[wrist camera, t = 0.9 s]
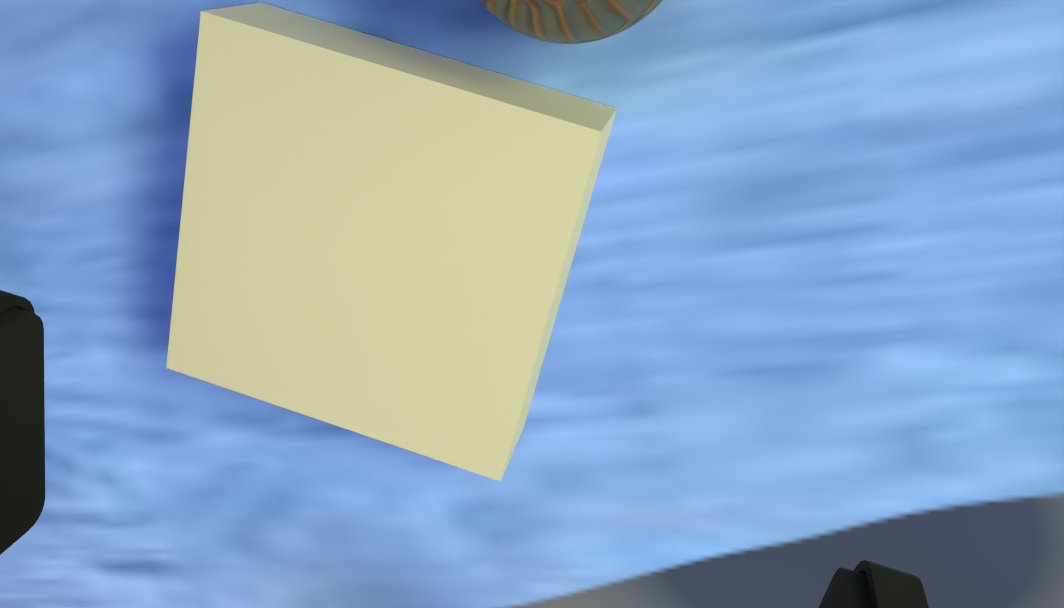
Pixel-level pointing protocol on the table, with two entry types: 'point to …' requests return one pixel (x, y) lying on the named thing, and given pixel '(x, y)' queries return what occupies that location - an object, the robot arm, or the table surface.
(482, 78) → the plinth
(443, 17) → the table surface
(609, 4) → the vase
